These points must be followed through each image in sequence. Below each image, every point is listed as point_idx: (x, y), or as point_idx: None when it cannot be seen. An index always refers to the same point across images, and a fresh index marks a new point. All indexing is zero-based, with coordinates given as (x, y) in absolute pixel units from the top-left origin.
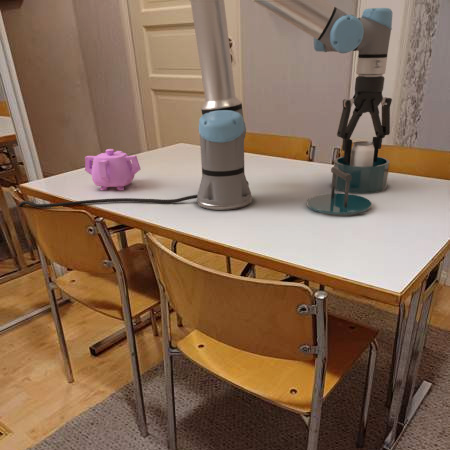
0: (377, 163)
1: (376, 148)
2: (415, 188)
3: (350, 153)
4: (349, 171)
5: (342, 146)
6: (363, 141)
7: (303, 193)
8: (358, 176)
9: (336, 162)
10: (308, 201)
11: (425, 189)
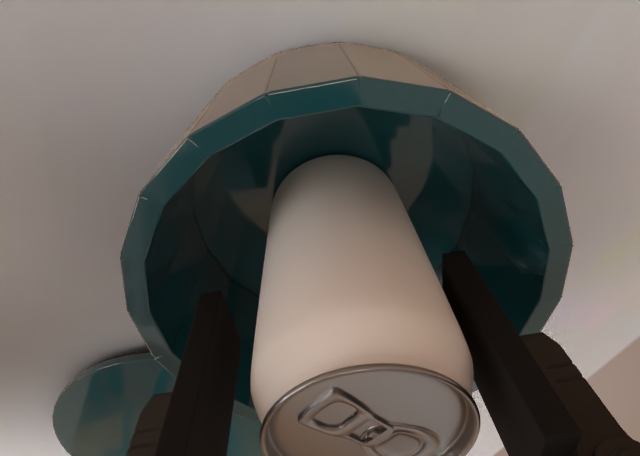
0: (514, 196)
1: (485, 396)
2: (577, 279)
3: (228, 409)
4: None
5: (134, 435)
6: (412, 374)
7: (17, 279)
8: None
9: (138, 322)
10: (58, 424)
11: (605, 296)
